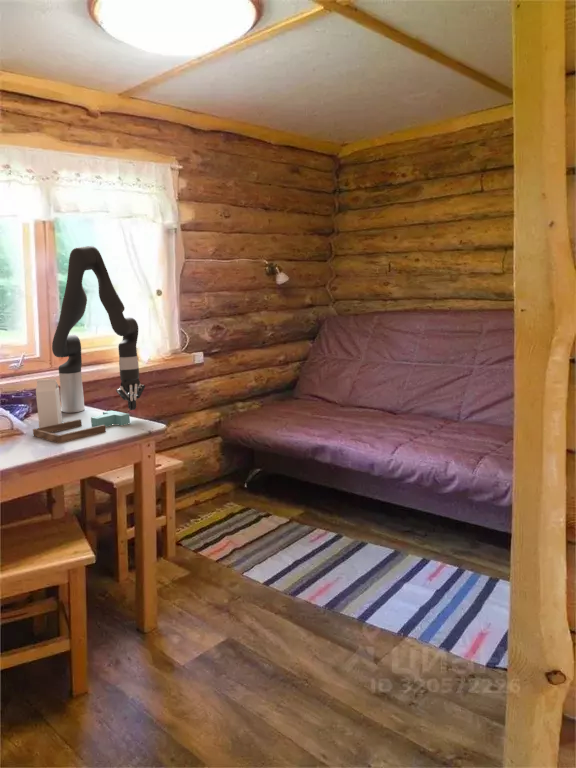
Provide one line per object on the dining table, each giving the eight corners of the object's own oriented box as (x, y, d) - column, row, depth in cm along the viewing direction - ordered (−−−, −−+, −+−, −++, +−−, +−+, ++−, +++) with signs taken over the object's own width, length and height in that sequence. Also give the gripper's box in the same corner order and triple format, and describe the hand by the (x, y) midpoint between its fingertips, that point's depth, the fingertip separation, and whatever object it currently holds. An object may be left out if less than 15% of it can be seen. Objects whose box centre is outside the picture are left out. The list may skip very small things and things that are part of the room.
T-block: (86, 425, 236) (85, 416, 236) (112, 419, 245) (111, 410, 245) (103, 430, 229) (103, 419, 228) (130, 423, 238) (129, 413, 237)
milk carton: (58, 428, 233) (54, 380, 229) (39, 430, 232) (34, 381, 228) (62, 424, 240) (58, 377, 236) (43, 425, 239) (39, 378, 235)
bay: (33, 436, 223) (32, 429, 222) (79, 425, 237) (79, 419, 237) (58, 443, 212) (58, 436, 211) (105, 431, 226) (105, 425, 226)
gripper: (137, 365, 250) (140, 405, 252) (109, 369, 240) (113, 411, 242) (148, 366, 245) (151, 407, 248) (120, 370, 235) (124, 413, 238)
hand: (132, 409), depth 245 cm, fingers closed
